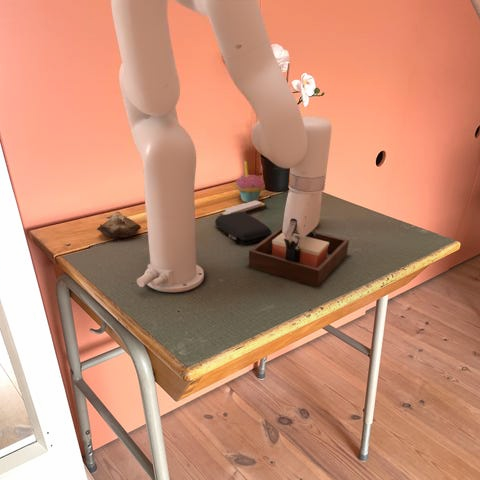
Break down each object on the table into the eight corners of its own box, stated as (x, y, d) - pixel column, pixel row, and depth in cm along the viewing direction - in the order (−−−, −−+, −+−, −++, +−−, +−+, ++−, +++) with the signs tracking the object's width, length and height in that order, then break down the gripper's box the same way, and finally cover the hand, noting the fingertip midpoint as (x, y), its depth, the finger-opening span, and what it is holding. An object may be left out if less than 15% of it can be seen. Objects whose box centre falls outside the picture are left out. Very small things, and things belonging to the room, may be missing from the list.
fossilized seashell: (92, 233, 118) (133, 242, 118) (97, 205, 118) (139, 214, 118) (100, 236, 125) (139, 245, 126) (105, 210, 125) (144, 219, 125)
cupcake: (245, 206, 141) (246, 164, 134) (229, 197, 147) (230, 156, 140) (269, 201, 145) (272, 160, 138) (253, 192, 151) (255, 152, 144)
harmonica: (227, 221, 132) (227, 214, 131) (220, 217, 134) (220, 210, 133) (266, 208, 140) (266, 201, 139) (259, 205, 142) (259, 198, 141)
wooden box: (317, 287, 104) (319, 270, 102) (248, 266, 111) (249, 250, 109) (346, 255, 117) (349, 240, 115) (283, 239, 124) (284, 224, 121)
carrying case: (208, 226, 129) (238, 248, 119) (208, 215, 127) (238, 236, 117) (243, 219, 134) (274, 239, 123) (243, 208, 132) (275, 228, 122)
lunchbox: (315, 273, 109) (318, 252, 107) (270, 260, 114) (272, 240, 111) (326, 262, 114) (329, 242, 111) (283, 250, 118) (284, 230, 116)
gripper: (307, 167, 111) (300, 240, 121) (271, 189, 99) (266, 268, 109) (339, 173, 108) (328, 248, 118) (306, 197, 96) (298, 277, 106)
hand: (299, 257), depth 113 cm, fingers open, 6 cm apart
